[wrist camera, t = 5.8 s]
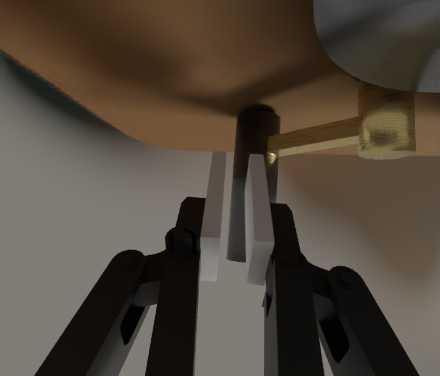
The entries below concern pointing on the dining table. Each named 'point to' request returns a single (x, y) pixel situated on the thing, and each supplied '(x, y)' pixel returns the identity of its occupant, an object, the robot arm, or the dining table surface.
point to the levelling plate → (383, 41)
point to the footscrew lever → (318, 144)
